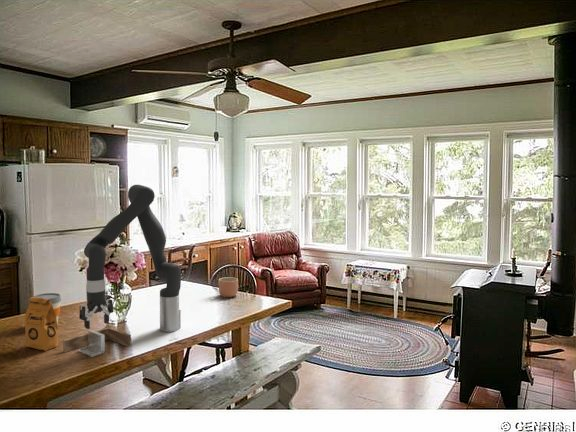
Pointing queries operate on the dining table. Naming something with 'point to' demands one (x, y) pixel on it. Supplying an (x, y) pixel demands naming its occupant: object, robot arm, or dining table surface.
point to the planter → (228, 286)
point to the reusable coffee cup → (52, 301)
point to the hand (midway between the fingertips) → (97, 325)
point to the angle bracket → (94, 344)
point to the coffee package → (41, 324)
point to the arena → (108, 332)
